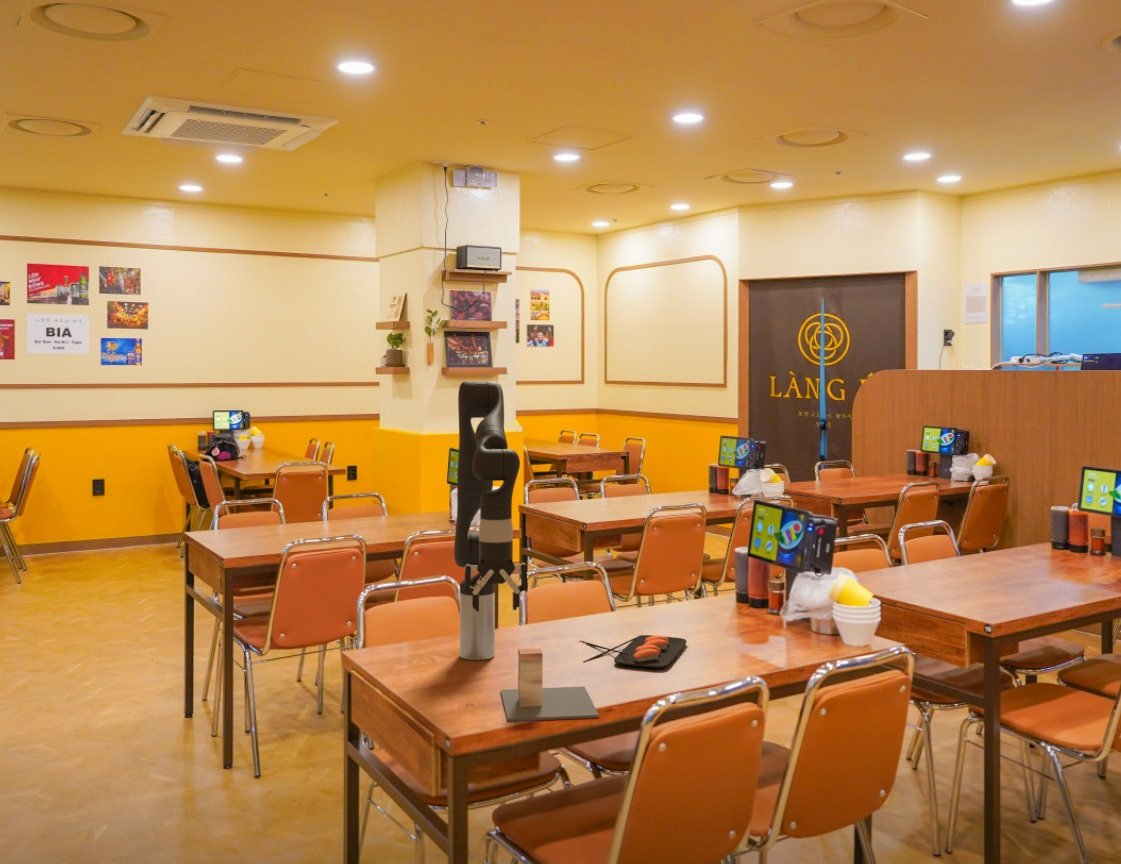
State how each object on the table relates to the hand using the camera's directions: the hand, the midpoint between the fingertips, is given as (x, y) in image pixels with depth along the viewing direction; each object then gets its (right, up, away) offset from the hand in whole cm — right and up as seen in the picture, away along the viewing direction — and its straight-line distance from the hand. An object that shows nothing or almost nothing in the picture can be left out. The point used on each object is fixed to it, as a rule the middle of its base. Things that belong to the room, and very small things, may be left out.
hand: (495, 610), depth 219 cm
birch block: (+8, -21, +2) cm, 23 cm away
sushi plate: (+32, -21, +46) cm, 60 cm away
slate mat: (+12, -22, +3) cm, 25 cm away
